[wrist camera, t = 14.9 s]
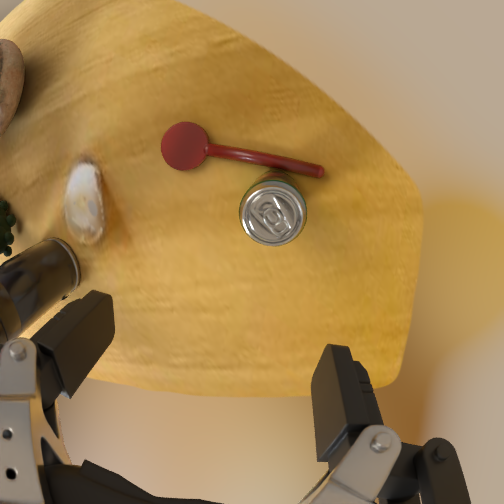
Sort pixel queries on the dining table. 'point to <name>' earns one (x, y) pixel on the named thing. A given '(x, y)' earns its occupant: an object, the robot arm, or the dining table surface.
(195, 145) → the spoon
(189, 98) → the dining table surface
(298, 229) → the soda can
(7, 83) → the cooking pot
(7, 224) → the toy figurine
